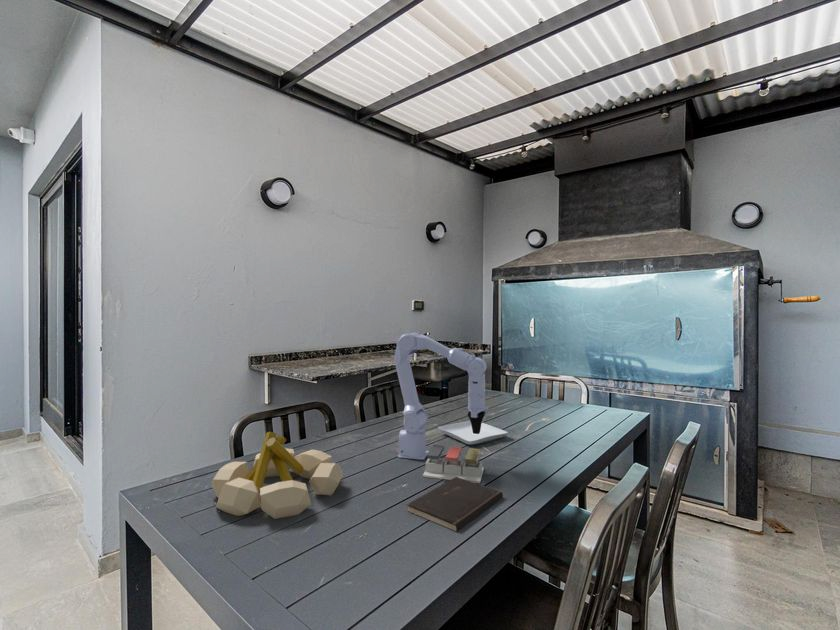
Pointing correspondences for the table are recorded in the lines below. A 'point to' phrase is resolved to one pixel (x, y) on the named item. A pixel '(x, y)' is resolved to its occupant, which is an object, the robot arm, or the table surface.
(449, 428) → the salad plate
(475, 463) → the brass plug
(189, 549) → the table surface
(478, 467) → the panel
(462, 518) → the hardcover book
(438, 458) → the grey rectangular block
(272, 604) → the table surface
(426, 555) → the table surface
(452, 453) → the red plug
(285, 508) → the campfire
